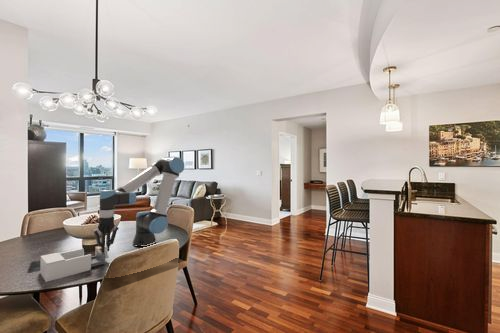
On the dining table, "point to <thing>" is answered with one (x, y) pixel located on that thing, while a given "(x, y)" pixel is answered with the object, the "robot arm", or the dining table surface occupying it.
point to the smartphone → (34, 267)
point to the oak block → (97, 249)
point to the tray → (98, 258)
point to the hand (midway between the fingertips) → (104, 257)
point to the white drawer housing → (64, 264)
